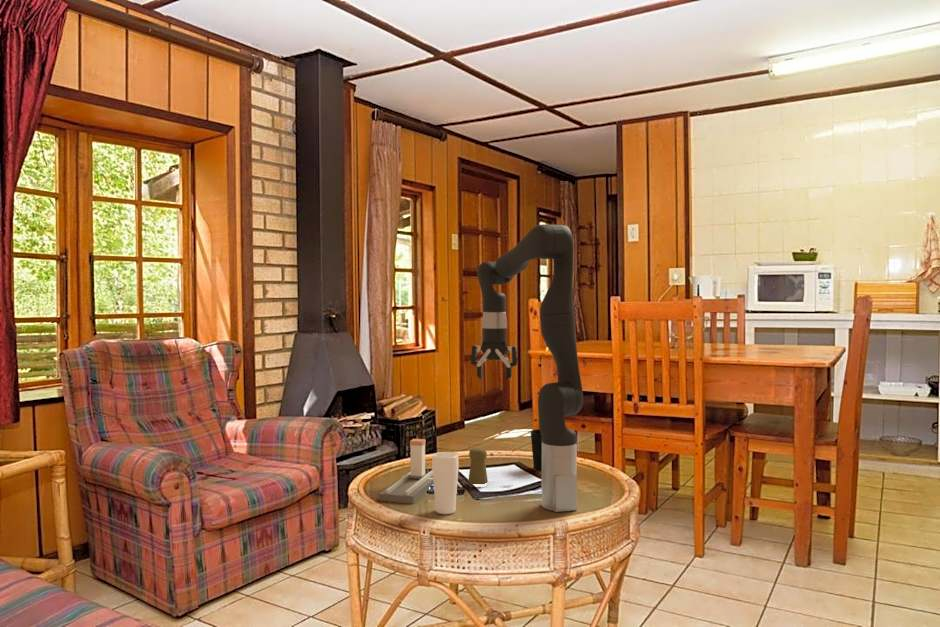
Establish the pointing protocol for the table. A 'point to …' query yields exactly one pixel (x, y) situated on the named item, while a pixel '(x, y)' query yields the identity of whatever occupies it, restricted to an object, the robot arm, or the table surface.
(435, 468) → the drinking glass
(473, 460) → the cork
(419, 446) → the fader tab
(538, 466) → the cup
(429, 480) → the fader board
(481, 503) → the table surface
